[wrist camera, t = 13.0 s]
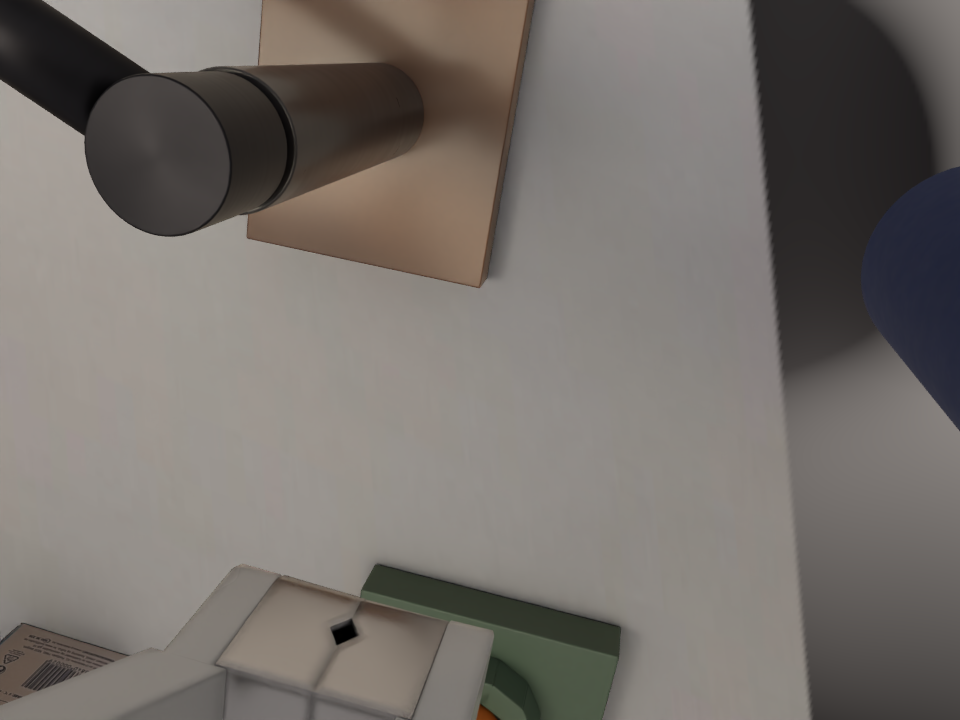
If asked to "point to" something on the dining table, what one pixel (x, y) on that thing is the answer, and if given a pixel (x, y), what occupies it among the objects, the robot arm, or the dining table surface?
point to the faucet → (391, 128)
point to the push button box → (517, 647)
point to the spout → (147, 124)
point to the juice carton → (44, 661)
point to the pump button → (485, 714)
